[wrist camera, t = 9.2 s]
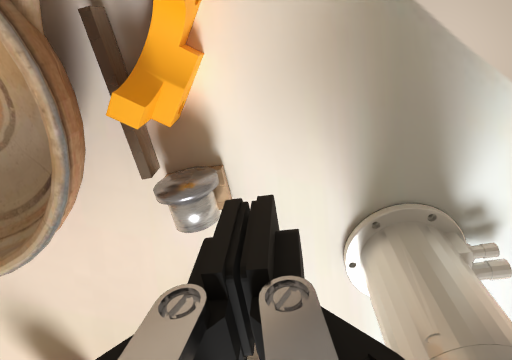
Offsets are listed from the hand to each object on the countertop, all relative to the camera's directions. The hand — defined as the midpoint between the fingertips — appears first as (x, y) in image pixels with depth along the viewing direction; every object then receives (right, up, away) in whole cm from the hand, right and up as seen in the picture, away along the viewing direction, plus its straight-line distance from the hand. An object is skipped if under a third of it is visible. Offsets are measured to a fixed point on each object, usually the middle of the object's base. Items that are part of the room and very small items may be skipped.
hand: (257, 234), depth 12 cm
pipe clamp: (-7, +14, +18) cm, 24 cm away
